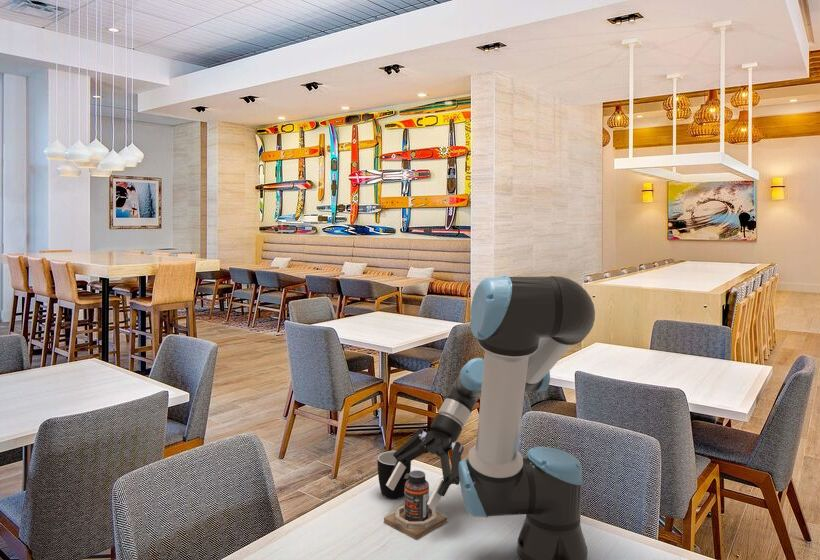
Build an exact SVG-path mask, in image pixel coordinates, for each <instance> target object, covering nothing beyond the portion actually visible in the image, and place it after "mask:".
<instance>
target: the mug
mask: <svg viewBox="0 0 820 560" xmlns="http://www.w3.org/2000/svg"><path fill="white" fill-rule="evenodd" d="M396 451H397V450H388V451H385V452H382V453H380V454H379V455H378V457H377V473H378V475H377V476H378V484H379V488H380V492H381V494H382V495H383V497H384V498H387V499H389V498H390V500H397V499H398V498H399V499H402V498H403V496H404V497H405V483H406V481H407V480H409V473H410V472H411V471H412V469H411V468H412V467H411V466H412V461H410V462H408V463H407V464H405V467H406V469H405V470H404V472H403V474H402V476H401V478H400V480H399V481H398V483H397V485H396V487H395V489H394V490H391V489H390V488H389V487H388V486H386V484H387V482H388V480H389V478H390V477H391V475H392V473H391V471H392V469H393V467H394V466H395V464H396V462H397V460H396V458H395V457H394V456H393V454H394V453H395V452H396ZM401 497H402V498H401ZM399 499H398V500H399Z"/></svg>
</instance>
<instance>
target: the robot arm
mask: <svg viewBox="0 0 820 560" xmlns="http://www.w3.org/2000/svg"><path fill="white" fill-rule="evenodd" d="M595 318H596V309H595V304H594V302H593V300H592V298H591V295H590V294H589V293H588V291H587V290H586V289H585V288H584V287H583V286H582V285H580V284H579V283H578V282H576V281H575V280H572V279H570V278H567V277H564V276H559V275H558V276H557V275H555V276H553V275H550V276H508V275H502V276H494V277H492V276H491V277H486V278H483V279H482V280H481V281H480V282H479V283H478V285H477V286H476V287H475V290H474V293H473V296H472V300H471V307H470V321H469V322H470V325H469V326H470V330H471V334H472V335H473V337H474V338H475V339H477V343H478V346H479V347H480V348H481V349H482V350H483V351H484V358H481V357H475V358H472V359H470V360H469V361H467V363H465V364H464V365H463V366H462V368H461V369H460V371H459V373H458V374H457V376H456V378H455V381H454V382H453V384H452V386H451V389H450V390H449V392H448V394H447V396H446V397H445V399H444V401H443V403H442V404H441V406H440V408H439V410H438V414H436V415H435V417H434V419H433V421H432V423H431V424H430V429H429V431H428V432H426V431H424V430H423V429H422V428H418V429H417V431H416V433H415V434H414V435H413V436H412V437H411V438H409V439H408V440H407V441H406V442H405V443H404V444H403V445H402V446H401V447H399V448H398V449H397V450H395V451H396V452H395V453H394V454H393V456H394V457H395V458H396V460H397V462H396V464H395V466H394V467H393V469H392V471H391V473H392V475H391V477H390V478H389V480H388V482H387V484H386V486H388V487H389V488H390V489H391V490H394V489H395V487H396V485H397V483H398V481H399V480H400V478H401V476H402V474H403V472H404V470H405V469H406V467H405V464H407V463H408V462H410V461H411V462H412V461H414V460H415V459H417V458H419V457H420V456H422V455H424V454H428V453H430V454H432V455H435V456H436V457H439V459H440V465H441V466H440V467H441V471H442V472H441V473H442V477H441V478H439V480H438V482H437V484H436V485H435V487H434V489H433V491H432V493H431V495H430V496H429V500H428V502H427V505H428V506H430V507H431V508H432V509H434V510H435V509H436V508H437V506H438V504H439V502H440V501H441V498H444V497H445V495H446V493H447V492H448V490H449V489H450V486H451V485H460V490H461V496H462V500H463V505H464V508H465V510H466V512H467V514H468V515H469V516H471V517H474V518H476V517H477V518H480V517H481V518H490V517H501V516H502V517H505V516H519V515H525V519H524V522H523V524H522V527H521V530H520V531H519V533H518V534H519V535H518V537H517V542H516V544H517V545H516V548H517V549H516V552H517V555H518V557H519V559H520V560H588V553H589V552H588V546H587V544H586V540H585V539H586V538H585V537H584V532H583V529H582V527H581V526H582V525H581V518H582V517H581V515H582V512H581V511H582V496H583V494H582V493H583V483H584V481H583V467H582V464H581V462H580V460H579V459H578V458H577V457H575V456H574V455H572V454H571V453H569V452H567V451H564V450H563V449H558V448H554V447H550V446H533V448H532V447H531V448H530V449H528V451H527V453H526V456H527V457H523V455H522V454H521V453H520V451H518V448H519V441H520V439H519V438H520V433H521V432H520V431H521V424H522V415H523V409H524V408H523V407H524V399H525V393H536V392H544V391H546V390H548V388H549V386H550V382H551V374H550V373H551V372H550V371H551V370H552V369H553V367H554V366H555V365H556V364H557V363H558V361H560V359H562V357H563V356H564V355H565V353H567V351H568V350H569V349H570V348H571V347H572V346H575V345H578V344H580V343H581V342H583V340H585V338H586V337H587V336H588V335H589V334H590V332H591V331H592V329H593V327H594V323H595V320H596V319H595ZM479 398H480V400H479ZM478 400H479V401H480V402H479V413H478V423H477V435H476V442H475V443H476V444H474V445H473V446H472V447H470V449H469V451H468V455H467V459H462V454H463V452H464V450H465V447H464V446H463V445H462V443H460V442H459V441H457V440H458V439H459V437H460V435H461V433H462V432H463V427H465V426H466V423H467V421H468V420H469V418H470V416H471V414H472V411H473V409H474V408H475V406H476V404H477V403H478ZM451 450H452V455H451V464H450V455H449V451H451ZM450 465H451V466H450Z"/></svg>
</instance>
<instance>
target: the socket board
mask: <svg viewBox="0 0 820 560" xmlns="http://www.w3.org/2000/svg"><path fill="white" fill-rule="evenodd" d="M404 508H405V503H404V504H402V505H400V506H398V507H396V508H395V509H394V510H395V511H394V512H393V513H390V514H389V515H387V516H384V517H383V523H384V524H386V525H387V526H390V527H392V528H394V530H395V529H396V531H400V532H401V533H403V534H405V535H407V536H408V537H410V538H411V539H412V538H413V539H415V540H416V539H418V540H419V539H421V538H422V536H423V537H424V536H426V535H427V534H430V533H431V532H433V531H435V530H436V529H438V528H440V527H442V526H443V525H445V524H447V523H448V516H446V515H443V514H442V513H439V512H437V510H436V508H435V510H434V509H432V508H431V507H430V506H429V515H428V519H427V520H425V521H417V522H410V521H408V520H407V519H406V518H405V514H404Z"/></svg>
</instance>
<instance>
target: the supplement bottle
mask: <svg viewBox="0 0 820 560" xmlns="http://www.w3.org/2000/svg"><path fill="white" fill-rule="evenodd" d="M429 499H430V484H429V482H428V481H427V480H426V473H425V472H424V471H422V470H416V469H415V470H411V471H410V473H409V480H407V481H406V483H405V496H404V504H405V508H404V514H405V518H406V519H407V520H408V521H410V522H417V521H425V520H427V519H428V515H429V506H428V505H427V502H428V500H429Z"/></svg>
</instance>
